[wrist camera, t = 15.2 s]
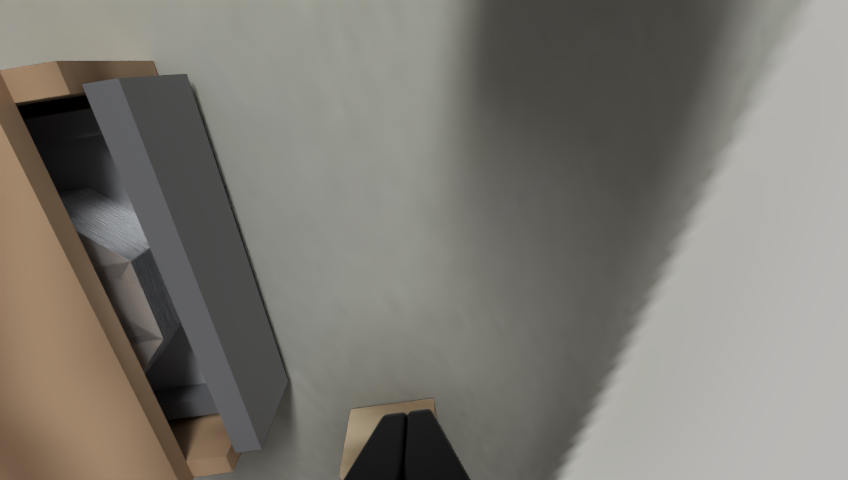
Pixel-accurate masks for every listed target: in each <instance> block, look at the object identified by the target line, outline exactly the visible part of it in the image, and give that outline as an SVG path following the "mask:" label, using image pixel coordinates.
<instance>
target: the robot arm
mask: <svg viewBox="0 0 848 480" xmlns="http://www.w3.org/2000/svg"><path fill="white" fill-rule="evenodd" d="M344 480H470V478H469V476H468V474H467V473H466V471H465V469H464V467H463V465H462V464H461V462H460V460H459V458H458V457H457V455H456V453H455V451H454V449H453V448H452V446H451V444H450V442H449V440H448V439H447V437H446V435H445V433H444V431H443V430H442V428H441V426H440V424H439V423H438V421H437V419H436V417H435V415H434V414H433V412H432V411H431V410H430V409H421V410H414V411H410V412H409V413H408V415H407V414H406V413H405V412H399V413H392V414H386V415H384V416H383V417H382V418H381V419H380V421H379V423H378V424H377V426H376V428H375V429H374V431H373V432H372V434H371V436H370V437H369V439H368V441H367V442H366V444H365V445H364V447H363V449H362V450H361V452H360V454H359V455H358V457H357V459H356V460H355V462H354V463H353V465H352V467H351V468H350V470H349V472H348V473H347V475H346V476H345V478H344Z"/></svg>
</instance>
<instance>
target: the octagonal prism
mask: <svg viewBox="0 0 848 480" xmlns="http://www.w3.org/2000/svg"><path fill="white" fill-rule="evenodd" d="M58 194H59V196H60V198H61V201H62V203H63V205H64V207H65V209H66V211H67V213H68V215H69V217H70V219H71V221H72V224H73V226H74V228H75V230H76V232H77V234H78V236H79V238H80V240H81V242H82V244H83V247H84V249H85V251H86V253H87V255H88V257H89V259H90V261H91V263H92V265H93V267H94V270H95V272H96V274H97V276H98V278H99V280H100V282H101V284H102V286H103V288H104V290H105V293H106V295H107V297H108V299H109V301H110V303H111V305H112V307H113V309H114V311H115V313H116V316H117V318H118V320H119V322H120V324H121V326H122V328H123V330H124V332H125V334H126V336H127V339H128V341H129V343H130V345H131V347H132V349H133V351H134V353H135V355H136V357H137V359H138V362H139V364H140V366H141V368H142V370H143V372H144V374H145V373H146V372H147V371H148V370H149V369H150V367H151V366H152V365H153V364H154V363H155V362H156V360H157V359H158V358H159V357H160V356H161V354H162V353H163V352H164V350H165V349H166V347H167V346H168V344H169V343H170V341H171V340H172V338H173V336H174V335H175V333H176V332H177V330H178V329H179V327H180V326H181V324H182V323H181V321H180V319H179V316H178V314H177V311H176V309H175V307H174V304H173V302H172V300H171V297H170V295H169V292H168V290H167V288H166V285H165V283H164V280H163V278H162V276H161V273H160V271H159V268H158V266H157V264H156V261H155V259H154V256H153V254H152V252H151V249H150V247H149V244H148V242H147V240H146V237H145V235H144V232H143V230H142V228H141V225H140V223H139V220H138V218H137V216H136V214H135V213H134V212H132V211H130V210H128V209H127V208H125V207H123V206H122V205H120V204H118V203H117V202H115V201H113V200H112V199H110V198H108V197H107V196H105V195H103V194H102V193H100V192H98V191H97V190H95V189H93V188H92V187H87V188H80V189H73V190H66V191H59V192H58Z"/></svg>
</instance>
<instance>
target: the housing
mask: <svg viewBox="0 0 848 480" xmlns="http://www.w3.org/2000/svg"><path fill="white" fill-rule="evenodd" d="M145 76H158V74H157V71H156V68H155V65H154V63H153V61H53V62H48V63H42V64H36V65H30V66H24V67H18V68H12V69H6V70H0V480H193V478H194V477H199V476H206V475H214V474H222V473H229V472H233V470H234V468H235V466H236V464H237V461H238V459H239V457H240V454H241V452H239V453H235V450H234V448H233V446H232V443H231V441H230V438H229V436H228V434H227V431H226V429H225V426H224V424H223V422H222V419H221V417H220V414H219V413H217V414H209V415H202V416H194V417H187V418H180V419H172V420H166V418H165V416H164V414H163V412H162V410H161V408H160V405H159V403H158V401H157V399H156V397H155V395H154V393H153V391H152V389H151V387H150V385H149V382H148V380H147V378H146V376H145V374H144V372H143V370H142V368H141V366H140V364H139V362H138V359H137V357H136V355H135V353H134V351H133V349H132V347H131V345H130V343H129V341H128V339H127V336H126V334H125V332H124V330H123V328H122V326H121V324H120V322H119V320H118V318H117V316H116V313H115V311H114V309H113V307H112V305H111V303H110V301H109V299H108V297H107V295H106V293H105V290H104V288H103V286H102V284H101V282H100V280H99V278H98V276H97V274H96V272H95V270H94V267H93V265H92V263H91V261H90V259H89V257H88V255H87V253H86V251H85V249H84V247H83V244H82V242H81V240H80V238H79V236H78V234H77V232H76V230H75V228H74V226H73V224H72V221H71V219H70V217H69V215H68V213H67V211H66V209H65V207H64V205H63V203H62V201H61V198H60V196H59V194H58V192H57V190H56V188H55V186H54V184H53V182H52V180H51V178H50V175H49V173H48V171H47V169H46V167H45V165H44V163H43V161H42V159H41V157H40V155H39V152H38V150H37V148H36V146H35V144H34V142H33V140H32V138H31V136H30V134H29V132H28V129H27V127H26V125H25V123H24V121H23V119H28V118H34V117H40V116H47V115H53V114H59V113H65V112H71V111H77V110H83V109H89V108H91V106H90V103H89V101H88V98H87V96H86V94H85V91H84V89H83V86H82V84H86V83H92V82H98V81H104V80H110V79H116V78H128V77H145Z"/></svg>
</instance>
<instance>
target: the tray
mask: <svg viewBox="0 0 848 480" xmlns="http://www.w3.org/2000/svg"><path fill="white" fill-rule="evenodd" d="M82 86H83V89H84V91H85V94H86V96H87V98H88V101H89V103H90V106H91V108H89V109H83V110H77V111H71V112H65V113H59V114H53V115H47V116H40V117H34V118H28V119H23V121H24V123H25V125H26V127H27V129H28V132H29V134H30V136H31V138H32V140H33V142H34V144H35V146H36V148H37V150H38V152H39V155H40V157H41V159H42V161H43V163H44V165H45V167H46V169H47V171H48V173H49V175H50V178H51V180H52V182H53V184H54V186H55V188H56V190H57V192H59V191H66V190H73V189H80V188H87V187H92V188H93V189H95V190H97V191H98V192H100V193H102V194H103V195H105V196H107V197H108V198H110V199H112V200H113V201H115V202H117V203H118V204H120V205H122V206H123V207H125V208H127V209H128V210H130V211H132V212H134V213H135V214H136V216H137V218H138V220H139V223H140V225H141V228H142V230H143V232H144V235H145V237H146V240H147V242H148V244H149V247H150V249H151V252H152V254H153V256H154V259H155V261H156V264H157V266H158V268H159V271H160V273H161V276H162V278H163V280H164V283H165V285H166V288H167V290H168V292H169V295H170V297H171V300H172V302H173V304H174V307H175V309H176V311H177V314H178V316H179V319H180V321H181V323H182V324H181V326H180V327H179V329H178V330H177V332H176V333H175V335H174V336H173V338H172V340H171V341H170V343H169V344H168V346H167V347H166V349H165V350H164V352H163V353H162V354H161V356H160V357H159V358H158V359H157V360H156V362H155V363H154V364H153V365H152V366H151V367H150V369H149V370H148V371H147V372H146V373H145V376H146V378H147V380H148V382H149V385H150V387H151V389H152V391H153V393H154V395H155V397H156V399H157V401H158V403H159V405H160V408H161V410H162V412H163V414H164V416H165V418H166V420H172V419H180V418H187V417H194V416H202V415H209V414H217V413H219V414H220V417H221V419H222V422H223V424H224V426H225V429H226V431H227V434H228V436H229V438H230V441H231V443H232V446H233V448H234V450H235V453H239V452H247V451H254V450H262V447H263V445H264V442H265V440H266V437H267V435H268V432H269V429H270V427H271V424H272V422H273V419H274V417H275V414H276V412H277V409H278V406H279V404H280V401H281V399H282V396H283V394H284V391H285V389H286V386H287V383H288V379H287V376H286V373H285V370H284V367H283V364H282V361H281V358H280V355H279V352H278V349H277V346H276V343H275V340H274V337H273V334H272V331H271V328H270V325H269V322H268V319H267V316H266V313H265V310H264V307H263V304H262V301H261V298H260V294H259V291H258V288H257V285H256V282H255V279H254V276H253V273H252V270H251V267H250V264H249V261H248V258H247V255H246V252H245V249H244V246H243V243H242V240H241V237H240V234H239V231H238V228H237V225H236V222H235V219H234V216H233V213H232V210H231V207H230V204H229V201H228V198H227V195H226V192H225V189H224V186H223V183H222V180H221V177H220V173H219V170H218V167H217V164H216V161H215V158H214V155H213V152H212V149H211V146H210V143H209V140H208V137H207V134H206V131H205V128H204V125H203V122H202V119H201V116H200V113H199V110H198V107H197V104H196V101H195V98H194V95H193V92H192V89H191V86H190V83H189V80H188V77H187V74H179V75H162V76H145V77H128V78H116V79H110V80H104V81H98V82H92V83H86V84H82Z"/></svg>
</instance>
